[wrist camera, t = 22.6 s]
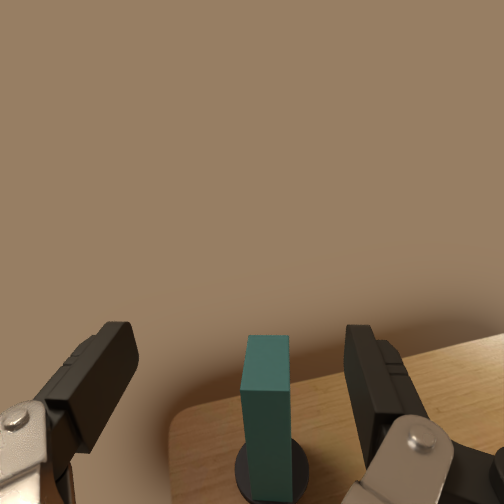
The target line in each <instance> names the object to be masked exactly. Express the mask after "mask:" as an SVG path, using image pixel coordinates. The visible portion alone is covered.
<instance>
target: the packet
mask: <svg viewBox="0 0 504 504" xmlns="http://www.w3.org/2000/svg"><path fill="white" fill-rule="evenodd" d="M240 393H241V403H242V412H243V421H244V431H245V440H246V449H247V458H248V467H249V476H250V486H251V495H252V500H262V501H277V502H292V501H293V499H292V450H291V405H290V362H289V336H288V335H287V336H286V335H282V336H281V335H249V336H248V342H247V349H246V355H245V362H244V368H243V374H242V381H241V387H240Z"/></svg>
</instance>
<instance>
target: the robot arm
mask: <svg viewBox="0 0 504 504" xmlns="http://www.w3.org/2000/svg"><path fill="white" fill-rule="evenodd" d="M138 361H139V354H138V349H137V345H136V342H135V338H134V334H133V330H132V326H131V324H130V323H129V322H107V323H106V324H105V325H104V326H103V327H102V328H101V329H100V331H99V332H98V333H97V334H96V335H92V336H91V337H89V338H88V339H87V340H85V341H84V342H82V343H81V344H80V345H79V346H78V347H77V348H76V349H75V350H74V352H73V353H72V354H71V356H70V357H69V358H68V359H67V360H66V361H65V362H64V363H63V366H61V367H60V368H59V369H58V371H57V372H56V373H55V374H54V375H53V376H52V377H51V379H50V380H49V381H48V382H47V383H46V385H45V386H44V387H43V388H42V389H41V390H40V392H39V393H38V394H37V395H36V396H35V398H34V399H33V400H30V401H25V402H21V403H19V404H16V405H14V406H12V407H10V408H9V409H7V410H6V411H4V412H3V413H1V414H0V504H76V501H75V492H74V482H73V473H72V466H71V463H70V461H71V459H72V457H73V456H74V454H75V453H88V454H90V452H91V451H92V449H93V447H94V445H95V443H96V442H97V440H98V438H99V436H100V434H101V433H102V431H103V429H104V427H105V425H106V424H107V422H108V420H109V418H110V416H111V415H112V413H113V411H114V409H115V407H116V406H117V404H118V402H119V400H120V398H121V396H122V395H123V393H124V391H125V389H126V387H127V386H128V384H129V382H130V380H131V378H132V377H133V375H134V373H135V371H136V369H137V366H138ZM344 373H345V379H346V383H347V387H348V392H349V396H350V401H351V405H352V409H353V414H354V418H355V423H356V427H357V431H358V436H359V440H360V445H361V449H362V453H363V458H364V462H365V467H366V470H367V471H366V473H365V475H364V476H363V478H362V479H361V481H358V480H357V481H355V482H354V483H353V484H352V486H351V487H350V489H349V491H348V492H347V494H346V496H345V497H344V499H343V501H342V503H341V504H504V447H502V448H500V449H499V450H498V451H497V452H496V454H495V456H494V455H491V454H488V453H485V452H481V451H478V450H475V449H472V448H469V447H466V446H463V445H461V444H458V443H456V442H454V441H453V440H451V439H450V438H449V436H448V435H447V433H446V432H445V431H444V430H443V429H442V428H441V427H440V426H438V425H437V424H436V423H434V422H433V421H431V420H430V419H429V417H428V415H427V413H426V411H425V408H424V406H423V404H422V402H421V400H420V398H419V395H418V393H417V391H416V389H415V387H414V385H413V383H412V380H411V378H410V376H408V372H407V370H406V368H405V366H404V364H403V361H402V359H401V357H400V355H399V352H398V351H397V350H396V349H395V348H394V347H393V346H392V345H391V344H390V343H389V342H388V341H387V340H376V339H375V337H374V334H373V332H372V329H371V327H370V325H347V327H346V338H345V349H344Z"/></svg>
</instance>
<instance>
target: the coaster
mask: <svg viewBox="0 0 504 504" xmlns="http://www.w3.org/2000/svg"><path fill="white" fill-rule="evenodd" d="M291 450H292V499H293V501H292V502H277V501H262V500H252V495H251V486H250V476H249V467H248V458H247V449H246V443H245V444H244V445H243V446H242V448H241V449H240V451H239V453H238V455H237V458H236V462H235V477H236V483H237V486H238V488H239V490H240V492H241V494H242V495H243V497H244V498H245V499H246V500H247V501H248V502H249V503H250V504H295V503H296V502H297V501H298V500H299V499H300V498H301V496H302V495H303V493H304V492H305V490H306V487H307V484H308V479H309V465H308V460H307V457H306V455H305V453H304V451H303V449H302V448H301V446H300V445H299V444H298V443H297V442H296V441H295V440H294V439H292V438H291Z"/></svg>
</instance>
